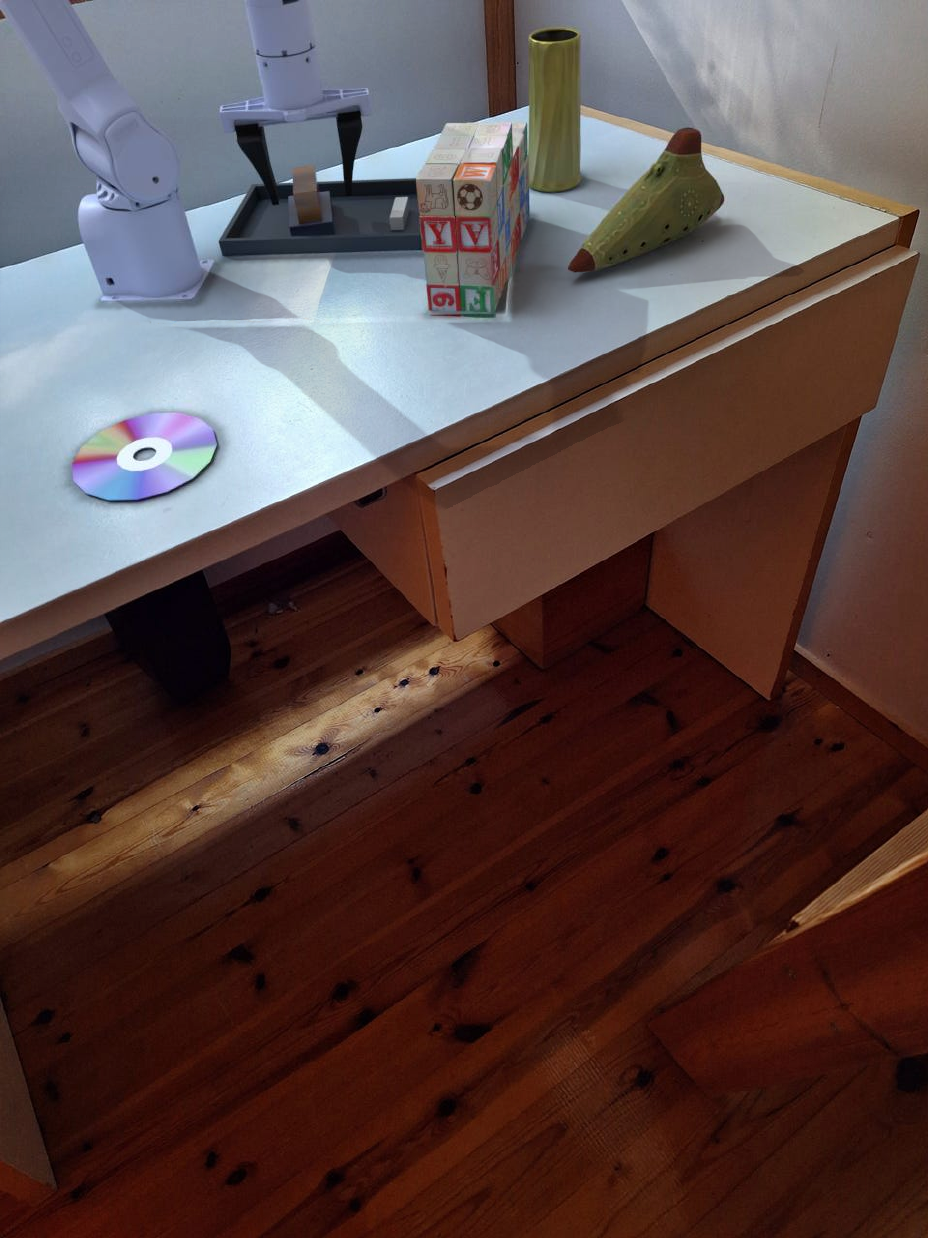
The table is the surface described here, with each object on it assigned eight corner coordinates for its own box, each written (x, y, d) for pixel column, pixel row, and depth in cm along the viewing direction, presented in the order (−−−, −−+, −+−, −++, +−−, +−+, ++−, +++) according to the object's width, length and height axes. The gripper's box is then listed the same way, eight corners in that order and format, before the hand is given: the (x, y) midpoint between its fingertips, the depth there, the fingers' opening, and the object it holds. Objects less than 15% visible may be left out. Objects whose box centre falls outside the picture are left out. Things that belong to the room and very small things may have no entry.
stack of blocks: (472, 215, 96) (465, 86, 87) (530, 216, 95) (529, 86, 86) (428, 316, 82) (414, 175, 73) (496, 319, 81) (490, 176, 72)
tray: (223, 261, 93) (218, 240, 91) (256, 202, 102) (251, 183, 101) (427, 255, 90) (425, 234, 89) (441, 196, 100) (439, 176, 99)
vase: (518, 176, 102) (515, 31, 92) (569, 166, 103) (571, 21, 93) (537, 196, 98) (536, 47, 88) (590, 186, 99) (595, 37, 89)
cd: (193, 397, 75) (193, 397, 75) (235, 467, 68) (235, 466, 68) (58, 442, 72) (58, 441, 72) (88, 520, 65) (88, 519, 65)
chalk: (390, 230, 94) (389, 217, 93) (396, 210, 97) (395, 196, 96) (404, 230, 93) (402, 216, 92) (409, 209, 97) (408, 196, 96)
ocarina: (586, 293, 83) (590, 181, 76) (549, 273, 86) (549, 163, 79) (739, 226, 90) (756, 117, 83) (700, 210, 93) (713, 104, 86)
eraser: (335, 235, 94) (327, 191, 90) (291, 241, 93) (282, 196, 90) (331, 204, 99) (324, 161, 96) (290, 209, 99) (282, 166, 96)
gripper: (204, 69, 81) (242, 221, 91) (364, 50, 82) (384, 203, 92) (209, 47, 86) (243, 193, 96) (360, 29, 87) (379, 176, 97)
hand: (312, 196), depth 94 cm, fingers open, 7 cm apart
